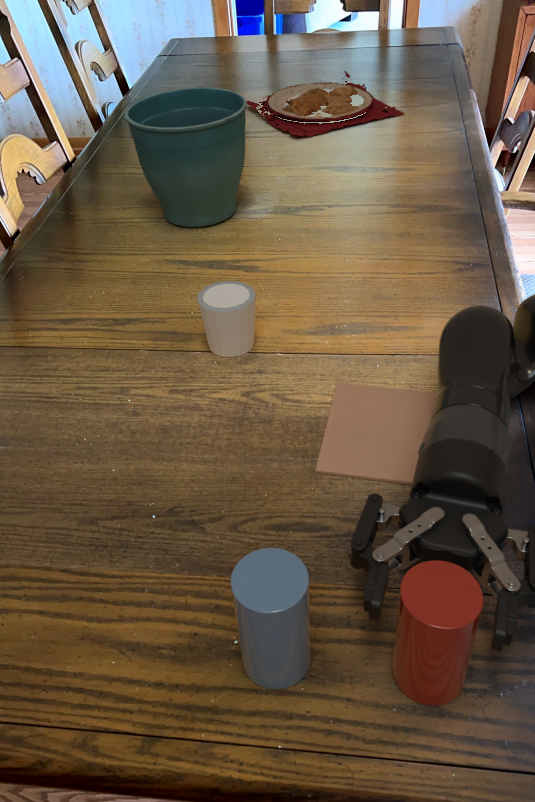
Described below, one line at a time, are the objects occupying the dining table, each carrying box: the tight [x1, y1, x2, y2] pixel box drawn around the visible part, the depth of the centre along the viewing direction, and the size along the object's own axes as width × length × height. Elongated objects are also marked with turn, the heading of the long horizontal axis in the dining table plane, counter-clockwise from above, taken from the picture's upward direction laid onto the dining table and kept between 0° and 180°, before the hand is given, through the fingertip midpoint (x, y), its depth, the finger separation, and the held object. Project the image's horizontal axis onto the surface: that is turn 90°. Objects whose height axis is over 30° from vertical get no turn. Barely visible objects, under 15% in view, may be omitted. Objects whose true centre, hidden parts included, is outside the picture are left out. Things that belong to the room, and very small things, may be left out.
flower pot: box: [124, 87, 248, 228], centre depth 112 cm, size 18×18×17 cm
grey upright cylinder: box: [230, 547, 312, 690], centre depth 52 cm, size 5×5×10 cm
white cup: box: [196, 280, 256, 358], centre depth 86 cm, size 7×7×7 cm
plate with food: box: [246, 70, 405, 138], centre depth 150 cm, size 24×26×4 cm
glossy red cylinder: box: [391, 560, 484, 707], centre depth 51 cm, size 5×5×10 cm
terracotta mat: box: [314, 382, 437, 486], centre depth 74 cm, size 12×14×1 cm
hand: (434, 629), depth 50 cm, fingers open, 8 cm apart
